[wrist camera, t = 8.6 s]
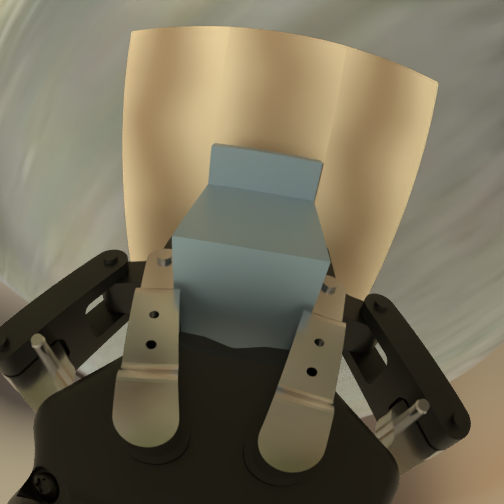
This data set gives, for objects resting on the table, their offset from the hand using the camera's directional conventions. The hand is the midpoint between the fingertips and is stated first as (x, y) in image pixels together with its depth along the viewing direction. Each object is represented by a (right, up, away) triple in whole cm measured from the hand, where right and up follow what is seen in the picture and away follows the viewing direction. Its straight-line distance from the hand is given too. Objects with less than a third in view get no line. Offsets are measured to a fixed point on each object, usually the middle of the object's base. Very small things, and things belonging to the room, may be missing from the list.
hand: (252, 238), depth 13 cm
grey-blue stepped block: (0, +1, +2) cm, 2 cm away
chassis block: (+1, +4, +6) cm, 7 cm away
